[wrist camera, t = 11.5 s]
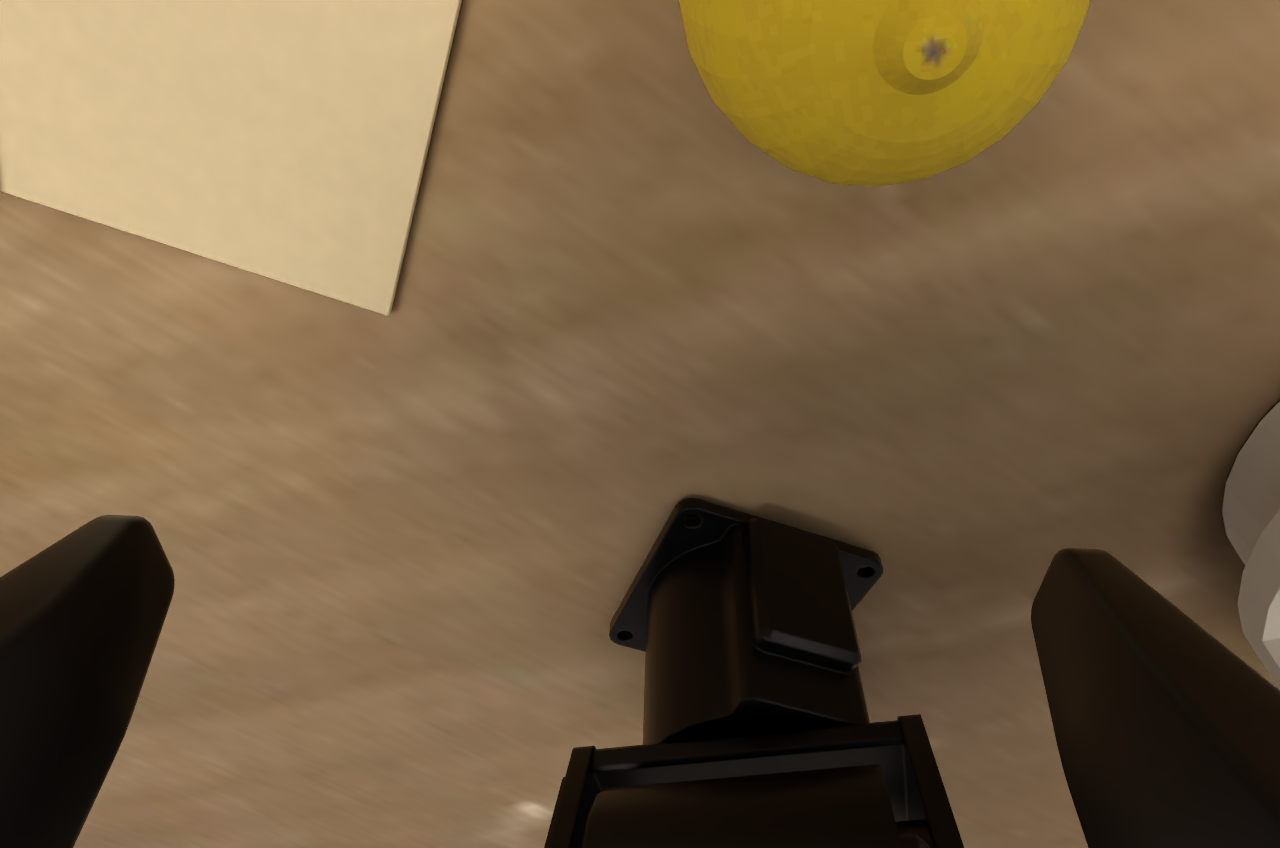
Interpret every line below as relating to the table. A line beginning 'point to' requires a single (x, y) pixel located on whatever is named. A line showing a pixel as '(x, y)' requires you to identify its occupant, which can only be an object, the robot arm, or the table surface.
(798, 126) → the lemon
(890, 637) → the table surface
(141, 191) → the wooden plank
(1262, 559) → the flag stand
